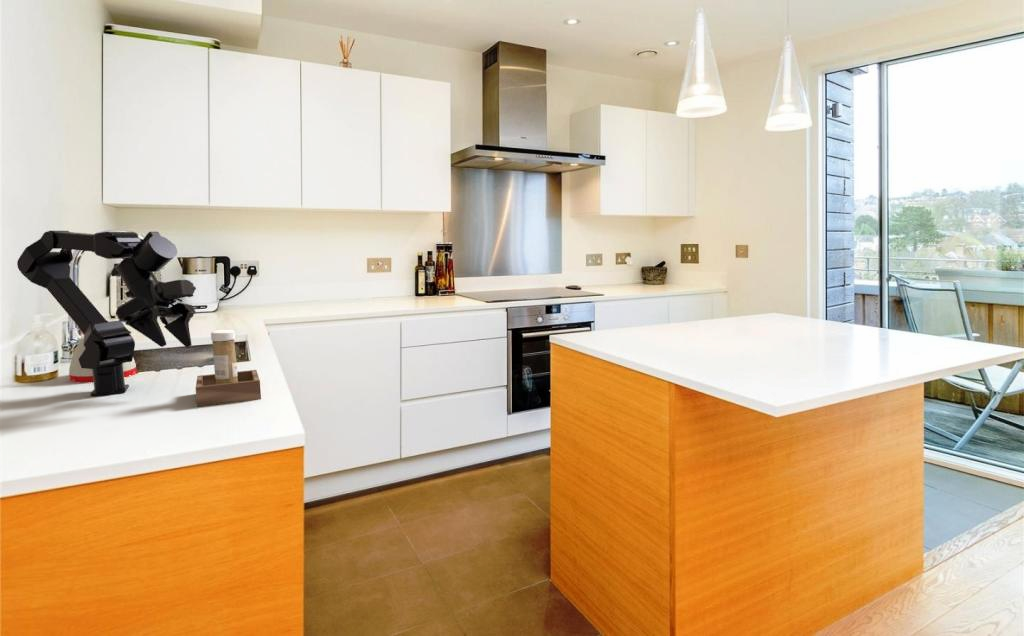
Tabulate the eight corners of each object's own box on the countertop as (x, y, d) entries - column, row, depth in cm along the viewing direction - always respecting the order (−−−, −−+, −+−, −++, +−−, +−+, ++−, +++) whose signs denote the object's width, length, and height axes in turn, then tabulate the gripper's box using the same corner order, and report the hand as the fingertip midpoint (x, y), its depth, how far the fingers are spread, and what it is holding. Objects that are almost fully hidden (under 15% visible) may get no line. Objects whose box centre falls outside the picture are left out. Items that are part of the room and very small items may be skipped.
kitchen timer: (75, 374, 149) (68, 317, 147) (138, 368, 155) (132, 313, 153) (65, 385, 137) (58, 323, 135) (134, 378, 143) (128, 319, 141)
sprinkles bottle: (243, 390, 126) (239, 330, 124) (224, 395, 122) (219, 333, 120) (230, 388, 128) (225, 328, 126) (211, 393, 124) (206, 331, 122)
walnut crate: (198, 393, 128) (197, 375, 127) (257, 386, 133) (256, 369, 133) (197, 406, 117) (195, 387, 117) (261, 398, 123) (259, 380, 122)
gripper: (147, 257, 114) (185, 324, 113) (198, 270, 132) (231, 328, 132) (98, 285, 113) (135, 353, 113) (156, 295, 132) (189, 353, 131)
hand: (177, 346), depth 122 cm, fingers open, 9 cm apart
